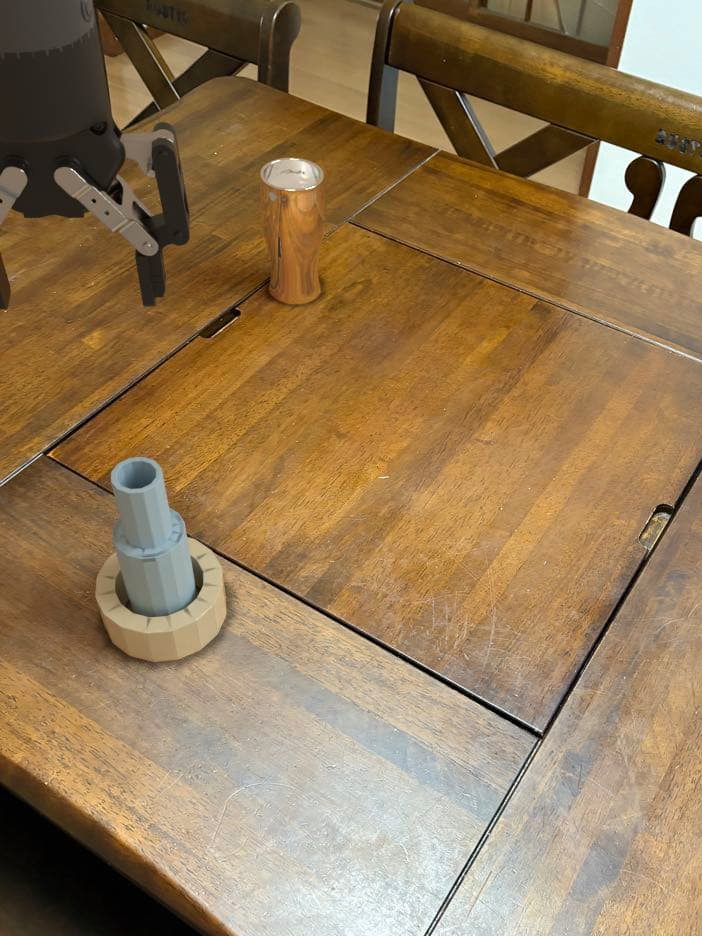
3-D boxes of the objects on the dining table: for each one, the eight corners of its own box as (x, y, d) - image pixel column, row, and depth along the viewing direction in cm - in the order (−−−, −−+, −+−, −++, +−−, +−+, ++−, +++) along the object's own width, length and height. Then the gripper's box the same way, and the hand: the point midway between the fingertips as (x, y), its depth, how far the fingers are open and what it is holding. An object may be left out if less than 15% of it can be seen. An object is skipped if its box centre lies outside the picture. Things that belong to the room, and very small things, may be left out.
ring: (103, 672, 73) (91, 638, 69) (109, 575, 79) (99, 538, 75) (228, 661, 74) (223, 626, 70) (225, 566, 80) (220, 529, 76)
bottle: (134, 645, 74) (95, 505, 61) (136, 593, 77) (98, 450, 64) (200, 638, 75) (175, 499, 62) (198, 587, 78) (174, 445, 65)
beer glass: (317, 318, 104) (317, 196, 92) (257, 308, 104) (249, 185, 92) (331, 283, 108) (332, 162, 96) (273, 273, 108) (268, 151, 97)
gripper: (168, -16, 46) (197, 263, 59) (-136, -27, 44) (-39, 265, 56) (165, 50, 41) (197, 337, 54) (-175, 41, 39) (-60, 343, 52)
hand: (77, 300), depth 55 cm, fingers open, 8 cm apart
